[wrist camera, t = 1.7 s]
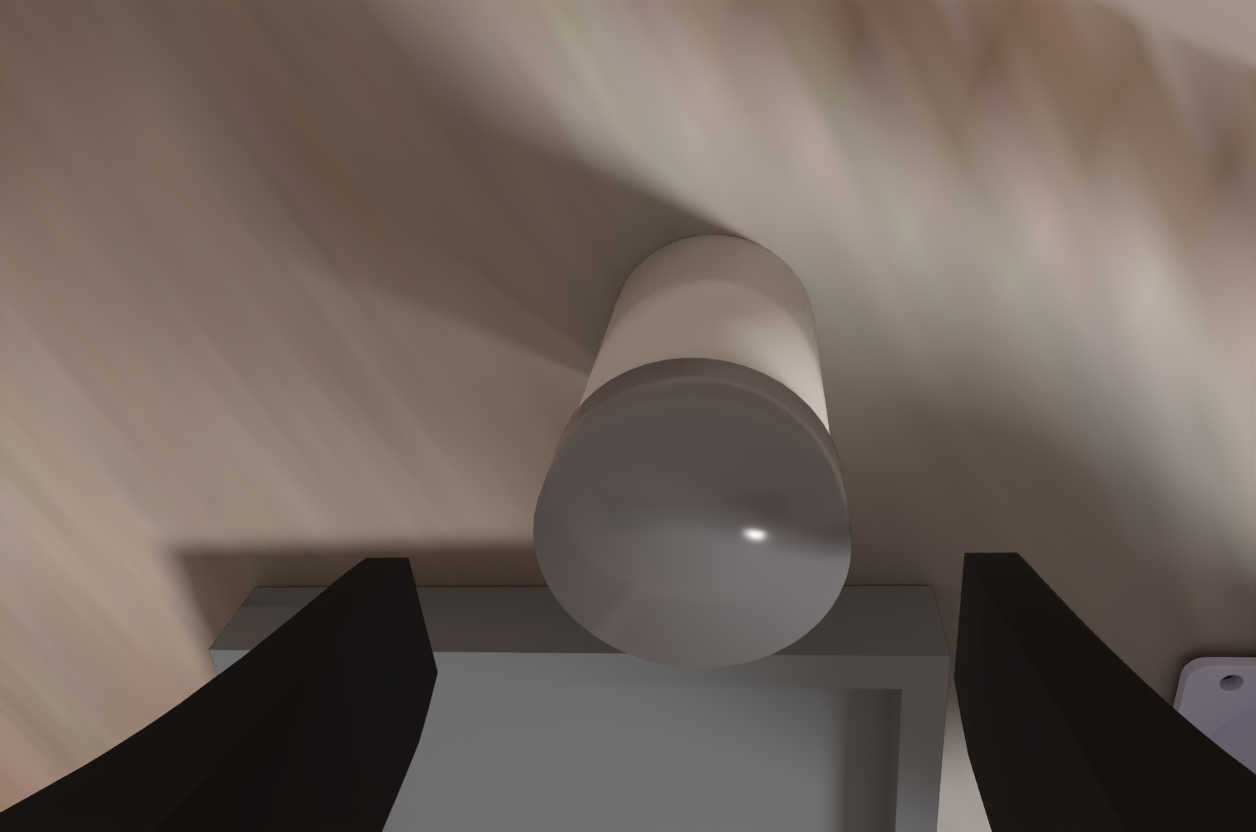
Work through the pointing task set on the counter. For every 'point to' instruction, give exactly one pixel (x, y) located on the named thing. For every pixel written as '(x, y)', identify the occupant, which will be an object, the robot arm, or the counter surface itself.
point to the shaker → (699, 466)
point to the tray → (662, 721)
